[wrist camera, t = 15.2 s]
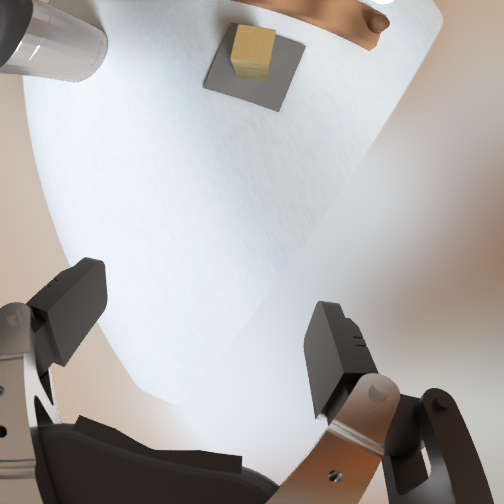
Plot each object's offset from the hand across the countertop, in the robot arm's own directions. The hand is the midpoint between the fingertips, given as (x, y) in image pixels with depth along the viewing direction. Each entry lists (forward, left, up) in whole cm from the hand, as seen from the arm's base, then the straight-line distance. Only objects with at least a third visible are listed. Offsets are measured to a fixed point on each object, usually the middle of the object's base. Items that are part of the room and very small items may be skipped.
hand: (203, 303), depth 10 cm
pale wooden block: (-4, +15, -28) cm, 31 cm away
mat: (-4, +15, -28) cm, 32 cm away
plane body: (-1, +27, -28) cm, 39 cm away
